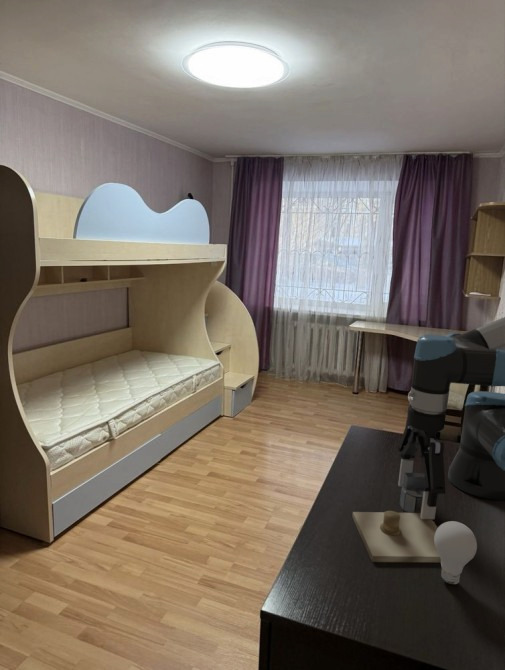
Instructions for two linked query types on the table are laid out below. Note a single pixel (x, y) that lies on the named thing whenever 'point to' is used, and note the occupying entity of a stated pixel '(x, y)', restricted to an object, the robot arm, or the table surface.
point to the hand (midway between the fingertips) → (415, 501)
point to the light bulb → (454, 549)
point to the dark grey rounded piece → (412, 492)
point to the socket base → (397, 536)
